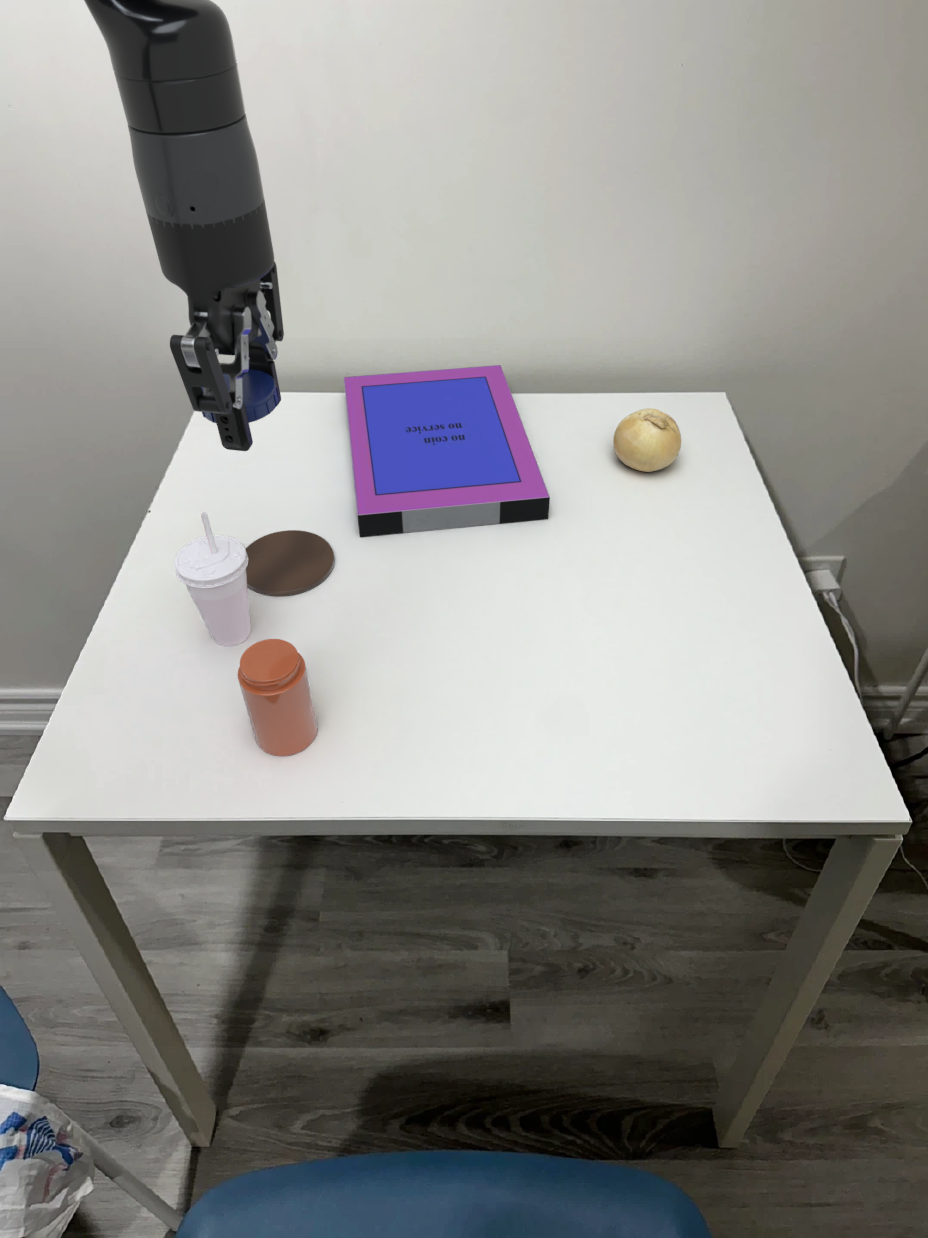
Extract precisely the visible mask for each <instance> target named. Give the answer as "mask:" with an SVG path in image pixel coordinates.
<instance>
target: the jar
mask: <svg viewBox="0 0 928 1238" xmlns="http://www.w3.org/2000/svg"><path fill="white" fill-rule="evenodd" d="M237 680H238V684H239V687H240V691H241V694H242V698H243V701H244V705H245V708H246V712H247V716H248V718H249V722H250V725H251V729H252V732H253V736H254V739H255V743H256V744H257V746H258V747H259V749H261V751H263V752H264V753H266V754H269V755H271V756H275V757H288V756H293V755H296V754H299V753H301V752H302V751H305V750H306V749H307V748H308V747H309V746H311V744H312V743H313V742H314V740H315V739H316V736H317V734H318V728H319V726H318V721H317V715H316V710H315V706H314V701H313V695H312V690H311V685H310V681H309V675H308V671H307V666H306V661H305V659H304V657H303V655H302V654H301V653H300V652H298V649H297V648H296V646H294V644H292V643H291V642H290V641H287V640H284V639H280V638H267V639H263V640H259V641H256V642H255V643H253V644H251V645H250V646H248V647H247V648H246V649H245V650H244V652H243V653H242V654H241V657H240V660H239V667H238V669H237Z"/></svg>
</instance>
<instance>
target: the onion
mask: <svg viewBox="0 0 928 1238" xmlns="http://www.w3.org/2000/svg"><path fill="white" fill-rule="evenodd" d="M681 434H682V433H681V430H680V428H679V426H678V423H677V422H676V420H675V419H674V418H673V417H672V416H671V415H669V414H667V413H666V412H664V411H662V410H659V409H657V408H643V409H640V410H636V411H634V412H632V413H630V414H628V415H627V416H625V417H624V418H623V419H622V420H621V421H619V423H618V424H617V426H616V428H615V430H614V434H613V440H612V441H613V451H614V453H615V455H616V456H617V458H618V459H619V461H621V462H622V463H623V464H624V465H625V466H626V467H629V468H631V469H633V470H636V471H639V472H645V473H652V472H656V471H660V470H662V469H665V468H667V467H669V466H670V465H671V464H672V463H673V462H674V461H675V460H676V458H677V457H678V456H679V454H680V451H681V447H682V435H681Z"/></svg>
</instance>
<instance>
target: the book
mask: <svg viewBox="0 0 928 1238" xmlns="http://www.w3.org/2000/svg"><path fill="white" fill-rule="evenodd" d="M343 384H344V394H345V395H344V396H345V403H346V404H345V405H346V414H347V415H346V416H347V426H348V434H349V435H348V436H349V446H350V453H351V455H350V457H351V466H352V475H353V484H354V485H353V486H354V496H355V505H356V516H357V524H358V531H359V532H358V533H359V538H366V537H367V538H368V537H378V536H387V535H388V536H389V535H400V534H408V533H419V532H429V531H430V532H431V531H439V530H450V529H451V530H452V529H461V528H471V527H480V526H482V527H483V526H491V525H492V526H493V525H502V524H512V523H522V522H533V521H543V520H544V521H545V520H548V519H549V512H550V499H551V496H550V494H549V491H548V488H547V485H546V483H545V480H544V478H543V475H542V472H541V470H540V466H539V465H538V460H537V459H536V457H535V453H534V450H533V448H532V445H531V443H530V440H529V437H528V435H527V431H526V429H525V427H524V423H523V421H522V418H521V416H520V413H519V411H518V407H517V406H516V402H515V400H514V399H515V398H514V397H513V394H512V391H511V389H510V387H509V386H510V385H509V383H508V380H507V378H506V374H505V372H504V370H503V368H502V365H501V364H496V365H495V364H494V365H482V366H481V365H480V366H469V367H468V366H467V367H457V368H456V367H454V368H443V369H429V370H419V371H418V370H417V371H405V372H391V373H379V374H367V375H352V376H343Z"/></svg>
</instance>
